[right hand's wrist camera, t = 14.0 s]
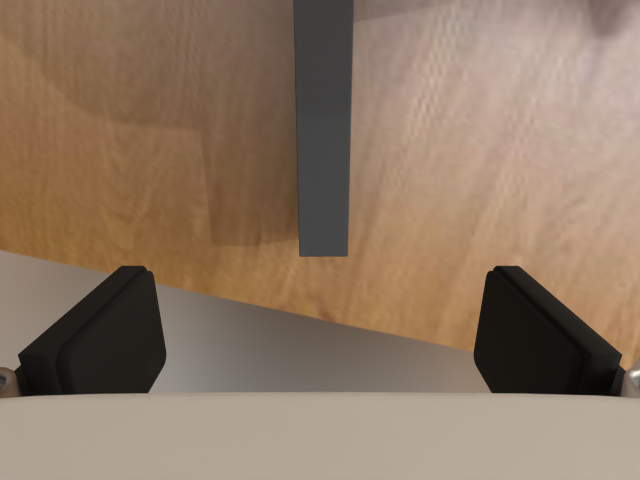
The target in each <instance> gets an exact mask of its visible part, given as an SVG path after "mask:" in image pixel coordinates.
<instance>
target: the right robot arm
mask: <svg viewBox="0 0 640 480" xmlns="http://www.w3.org/2000/svg"><path fill="white" fill-rule="evenodd" d="M18 357H19V360H20V363H21V365H20V366H19V367H18V368H17V369H16V370H15V371H13V370H11V369H8V368H5V367H0V480H640V367H635V368H632V369H629V370H627V371H625V370H624V369H623V368H622V367H621V366H620V365H619V363H620V360H621V357H622V354H621V353H620V352H618V351H617V350H616V349H615V348H614V347H613V346H611V345H610V344H609V343H608V342H607V341H606V340H604V339H603V338H602V337H601V336H600V335H599V334H597V333H596V332H595V331H594V330H593V329H592V328H590V327H589V326H588V325H587V324H586V323H585V322H583V321H582V320H581V319H580V318H579V317H578V316H576V315H575V314H574V313H573V312H572V311H571V310H569V309H568V308H567V307H566V306H565V305H564V304H562V303H561V302H560V301H559V300H558V299H557V298H555V297H554V296H553V295H552V294H551V293H550V292H548V291H547V290H546V289H545V288H544V287H543V286H541V285H540V284H539V283H538V282H537V281H536V280H534V279H533V278H532V277H531V276H530V275H529V274H527V273H526V272H525V271H524V270H523V269H522V268H520V267H519V266H496V267H495V268H494V269H493V271H489V272H488V273H487V276H486V281H485V287H484V293H483V299H482V305H481V311H480V317H479V323H478V330H477V336H476V342H475V348H474V361H475V364H476V366H477V368H478V370H479V371H480V373H481V375H482V377H483V379H484V380H485V382H486V384H487V385H488V387H489V389H490V391H491V392H492V393H399V392H226V393H148V392H149V391H150V389H151V387H152V385H153V384H154V382H155V380H156V379H157V377H158V375H159V373H160V372H161V370H162V368H163V366H164V364H165V361H166V348H165V342H164V336H163V330H162V324H161V318H160V311H159V305H158V299H157V293H156V287H155V281H154V276H153V273H152V272H151V271H147V269H146V268H145V267H144V266H121V267H120V268H118V269H117V270H116V271H115V272H114V273H113V274H111V275H110V276H109V277H108V278H107V279H106V280H104V281H103V282H102V283H101V284H100V285H99V286H97V287H96V288H95V289H94V290H93V291H92V292H90V293H89V294H88V295H87V296H86V297H85V298H83V299H82V300H81V301H80V302H79V303H78V304H76V305H75V306H74V307H73V308H72V309H71V310H69V311H68V312H67V313H66V314H65V315H64V316H62V317H61V318H60V319H59V320H58V321H57V322H55V323H54V324H53V325H52V326H51V327H50V328H48V329H47V330H46V331H45V332H44V333H43V334H41V335H40V336H39V337H38V338H37V339H36V340H34V341H33V342H32V343H31V344H30V345H29V346H27V347H26V348H25V349H24V350H23V351H22V352H21V353H19V354H18Z"/></svg>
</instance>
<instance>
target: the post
mask: <svg viewBox="0 0 640 480" xmlns="http://www.w3.org/2000/svg"><path fill="white" fill-rule="evenodd" d="M353 10H354V0H294V42H295V85H296V128H297V171H298V214H299V256H300V257H307V256H348V223H349V180H350V138H351V95H352V53H353Z"/></svg>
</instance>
